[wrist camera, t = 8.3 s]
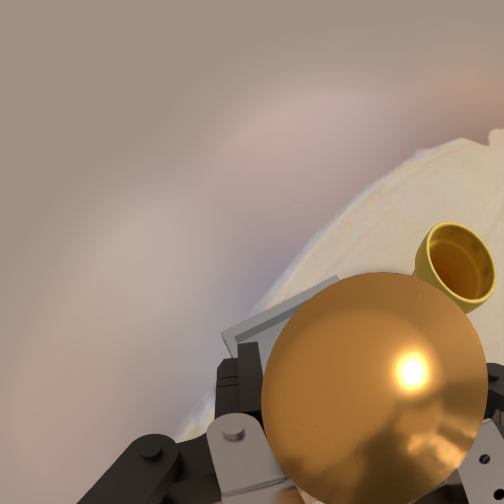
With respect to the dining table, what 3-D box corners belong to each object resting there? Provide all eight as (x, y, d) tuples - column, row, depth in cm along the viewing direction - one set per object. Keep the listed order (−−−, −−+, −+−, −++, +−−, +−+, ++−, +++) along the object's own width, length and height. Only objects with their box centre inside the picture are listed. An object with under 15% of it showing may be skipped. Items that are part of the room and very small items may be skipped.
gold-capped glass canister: (327, 361, 15) (447, 229, 5) (347, 436, 13) (521, 446, 2) (246, 380, 15) (204, 282, 4) (264, 458, 12) (269, 568, 2)
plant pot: (377, 295, 35) (409, 252, 26) (418, 251, 38) (449, 207, 30) (431, 351, 30) (477, 323, 22) (466, 300, 34) (506, 264, 25)
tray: (329, 288, 35) (336, 274, 32) (392, 383, 29) (405, 378, 26) (224, 341, 32) (220, 332, 29) (284, 451, 25) (288, 455, 22)
